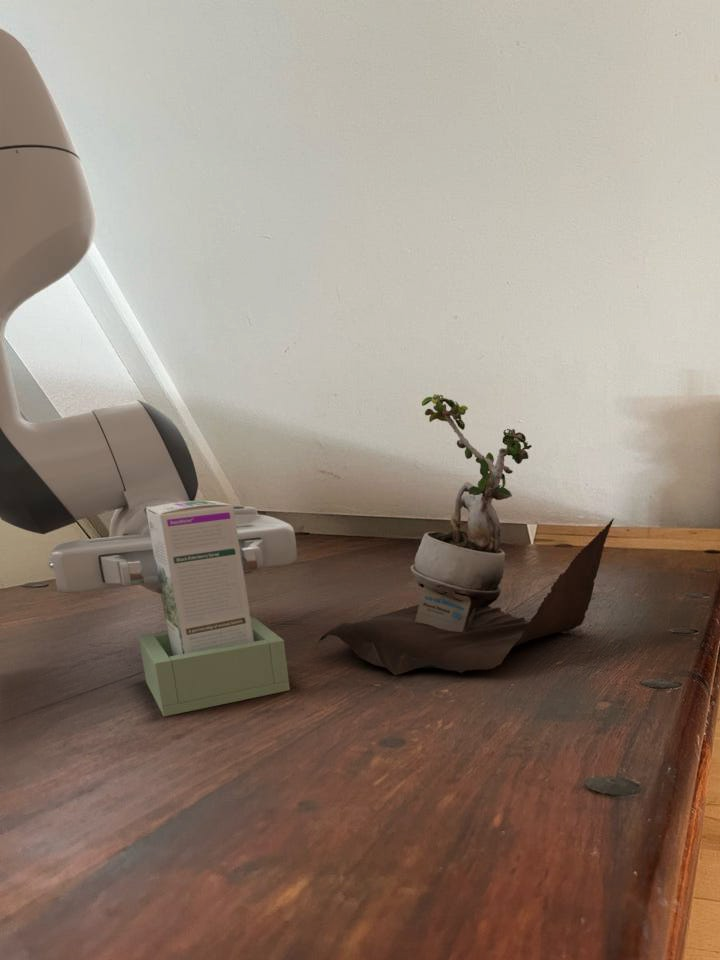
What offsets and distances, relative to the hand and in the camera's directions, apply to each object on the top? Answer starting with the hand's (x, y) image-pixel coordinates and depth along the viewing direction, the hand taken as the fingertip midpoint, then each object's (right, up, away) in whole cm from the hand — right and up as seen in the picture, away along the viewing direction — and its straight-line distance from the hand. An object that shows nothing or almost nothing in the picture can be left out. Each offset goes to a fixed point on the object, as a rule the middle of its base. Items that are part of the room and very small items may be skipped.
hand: (195, 566), depth 63 cm
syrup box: (+1, -9, +2) cm, 10 cm away
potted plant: (+22, -7, +11) cm, 26 cm away
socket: (+1, -10, +2) cm, 10 cm away
